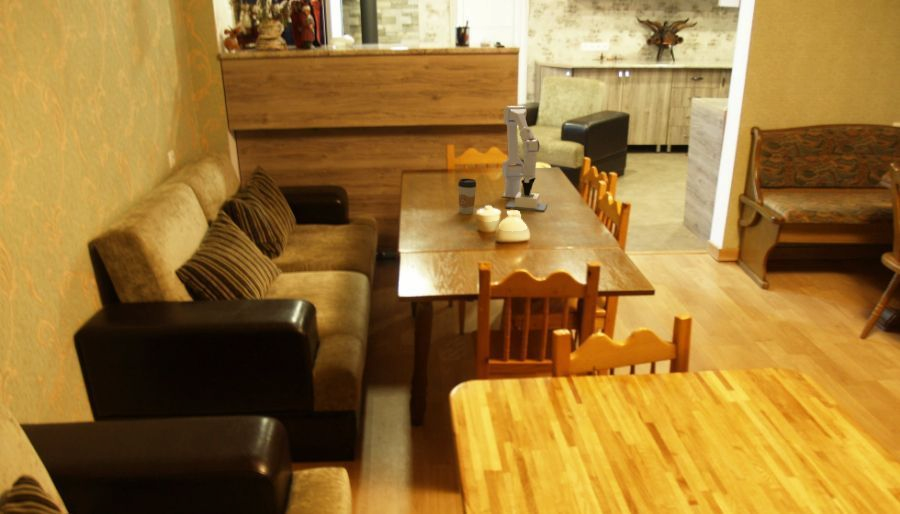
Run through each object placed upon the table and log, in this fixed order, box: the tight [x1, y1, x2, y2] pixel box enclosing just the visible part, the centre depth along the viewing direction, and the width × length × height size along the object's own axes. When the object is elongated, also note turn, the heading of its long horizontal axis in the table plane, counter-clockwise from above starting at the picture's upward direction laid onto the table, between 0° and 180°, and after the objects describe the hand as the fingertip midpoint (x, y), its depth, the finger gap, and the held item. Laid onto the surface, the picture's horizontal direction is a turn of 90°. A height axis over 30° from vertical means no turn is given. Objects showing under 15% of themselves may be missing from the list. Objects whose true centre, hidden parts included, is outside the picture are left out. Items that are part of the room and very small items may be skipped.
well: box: [505, 191, 548, 213], centre depth 326 cm, size 12×18×6 cm, turn 76°
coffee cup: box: [457, 178, 477, 215], centre depth 312 cm, size 8×8×15 cm
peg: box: [520, 185, 532, 198], centre depth 325 cm, size 4×4×8 cm
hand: (527, 194), depth 324 cm, fingers open, 4 cm apart
